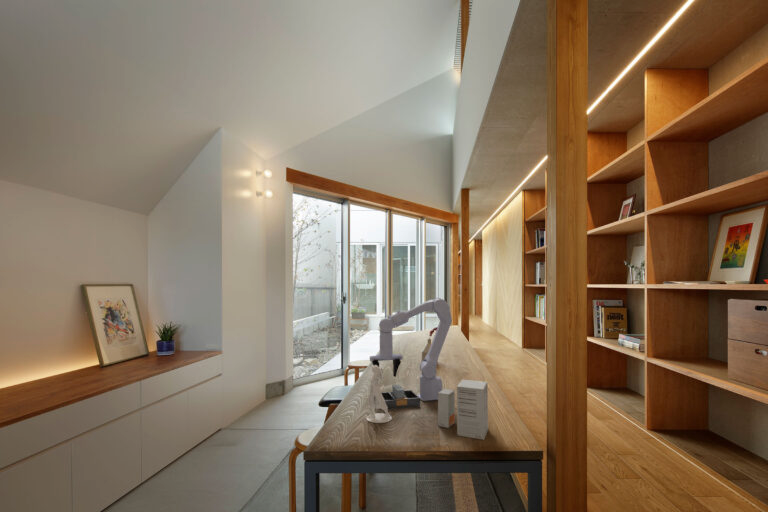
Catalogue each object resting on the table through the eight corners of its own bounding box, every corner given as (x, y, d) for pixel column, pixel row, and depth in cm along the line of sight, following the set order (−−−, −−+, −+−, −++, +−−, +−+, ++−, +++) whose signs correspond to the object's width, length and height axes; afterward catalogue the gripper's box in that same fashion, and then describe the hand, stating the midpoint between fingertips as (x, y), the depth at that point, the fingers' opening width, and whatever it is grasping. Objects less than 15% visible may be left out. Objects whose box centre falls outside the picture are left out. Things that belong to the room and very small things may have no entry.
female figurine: (352, 412, 158) (352, 361, 159) (392, 412, 157) (392, 361, 158) (348, 422, 148) (348, 368, 148) (391, 423, 147) (391, 368, 147)
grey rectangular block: (399, 398, 172) (399, 384, 172) (404, 404, 164) (404, 389, 164) (392, 399, 171) (392, 384, 171) (397, 405, 163) (397, 390, 163)
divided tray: (411, 398, 175) (411, 389, 175) (420, 406, 164) (420, 397, 164) (376, 401, 171) (376, 392, 171) (383, 410, 160) (382, 400, 160)
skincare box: (448, 428, 141) (448, 394, 142) (437, 426, 144) (437, 392, 144) (455, 422, 147) (454, 390, 147) (444, 420, 149) (444, 388, 149)
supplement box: (462, 425, 144) (461, 378, 145) (488, 429, 141) (487, 381, 141) (456, 435, 135) (456, 385, 136) (484, 440, 132) (483, 388, 132)
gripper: (372, 348, 170) (372, 380, 169) (404, 346, 173) (404, 378, 173) (368, 345, 177) (368, 376, 176) (399, 343, 180) (400, 373, 180)
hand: (386, 376), depth 175 cm, fingers open, 7 cm apart
